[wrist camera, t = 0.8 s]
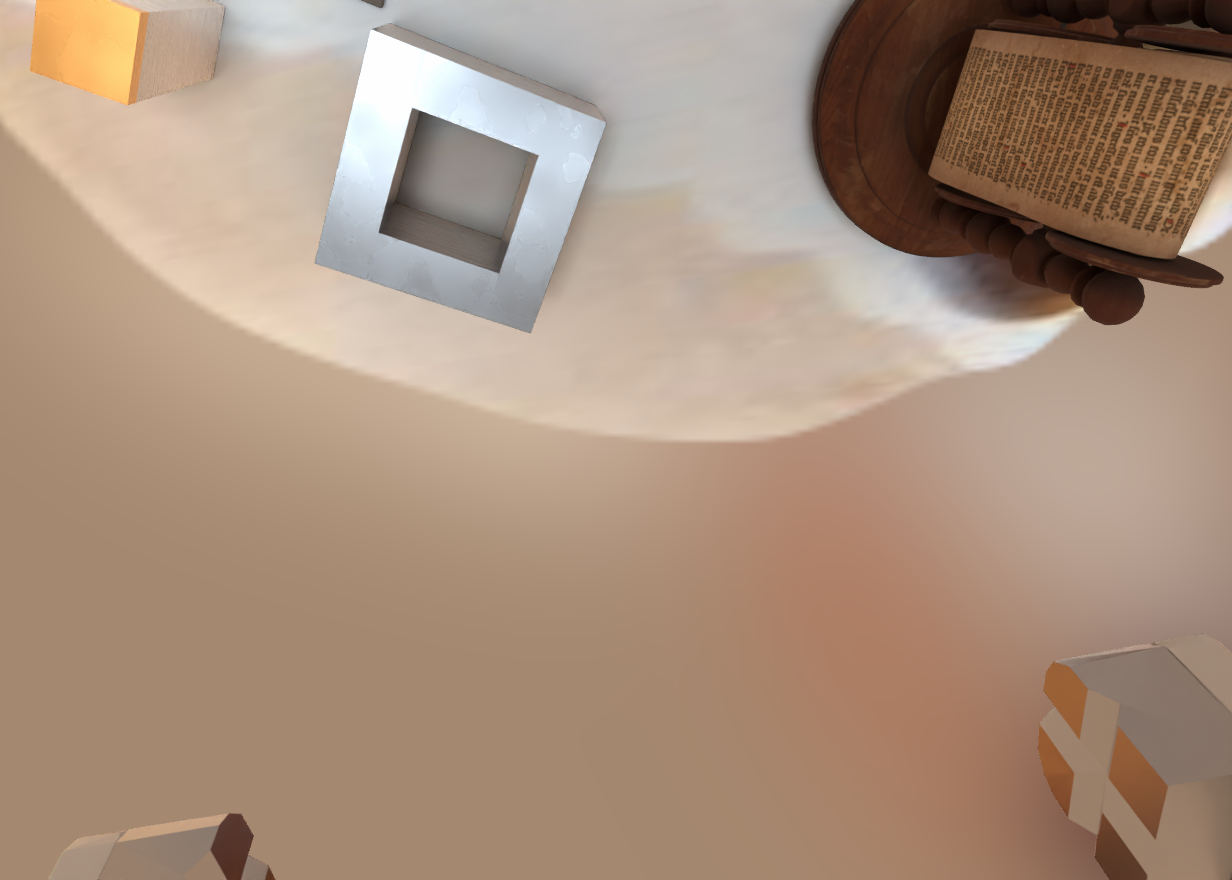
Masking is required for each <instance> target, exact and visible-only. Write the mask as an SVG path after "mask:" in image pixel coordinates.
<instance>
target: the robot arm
mask: <svg viewBox="0 0 1232 880" xmlns="http://www.w3.org/2000/svg"><path fill="white" fill-rule="evenodd" d="M1043 691H1044V692H1045V694H1046V695H1047V697H1048V698H1049V699H1050V701H1051V702H1052V703H1053V705H1054V707H1053V709H1052V710H1051V711H1050V712H1049V713H1048V714H1047V715H1046V716H1045V718H1044V719H1043V720H1042V721H1041V722H1040V723H1039V736H1038V751H1039V756H1040V760H1041V764H1042V768H1043V773H1044V776H1045V778H1046V780H1047V783H1048V785H1049V787H1050V789H1051V791H1052V793H1053V795H1054V797H1055V799H1056V800H1057V802H1058V803H1059V805H1060V806H1061V808H1062V810H1063V811H1064V813H1065V814H1066V816H1067V817H1068V818H1069V819H1070V820H1072V821H1074V822H1075V823H1077V824H1079V825H1081V826H1082V827H1084V828H1086V829H1088V830H1089V831H1091V832H1092V833H1094V834H1096V835H1097V838H1096V849H1095V859H1096V861H1097V862H1098V863H1099V865H1100V867H1101V868H1102V869H1103V871H1104V873H1105V874H1106V875H1107V877H1108V879H1109V880H1232V653H1231V652H1230V651H1229V650H1228V649H1227V648H1226V647H1225V646H1223V645H1222V644H1221V643H1220V642H1219V641H1218V640H1216V639H1214V638H1212V637H1210V636H1207V635H1205V634H1203V633H1201V634H1196V635H1190V636H1185V637H1180V638H1175V639H1169V640H1164V641H1159V642H1153V643H1151V644H1149V645H1148V644H1141V645H1136V646H1131V647H1126V648H1121V649H1115V650H1110V651H1105V652H1100V653H1095V654H1090V655H1085V656H1080V657H1075V658H1069V659H1064V660H1059V661H1054V662H1053V663H1052V664H1051V666H1050V667H1049V668H1048V670H1047V671H1046V675H1045V683H1044V690H1043ZM253 837H254V835H253V833H252V832H251V830H250V828H249V826H248V825H247V823H246V821H245V820H244V818H243V816H242V814H234V813H233V814H231V813H229V814H222V815H216V816H209V817H203V818H196V819H190V820H184V821H177V822H171V823H164V824H159V825H152V826H145V827H139V828H132V829H129V830H125V831H119V832H112V833H106V834H100V835H93V836H87V837H81V838H78V839H76V840H75V841H74V842H73V843H72V844H71V845H70V846H69V847H67V848H66V849H65V850H64V851H63V852H62V854H61V855H60V857H59V859H58V861H57V863H56V865H55V866H54V868H53V870H52V872H51V874H50V876H49V878H48V880H275V878H274V876H273V873H272V871H271V869H270V867H269V866H268V865H266V864H265V863H263V862H261V861H259V860H257V859H255V858H253V857H251V856H249V855H248V854H249V851H250V847H251V844H252V840H253Z"/></svg>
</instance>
